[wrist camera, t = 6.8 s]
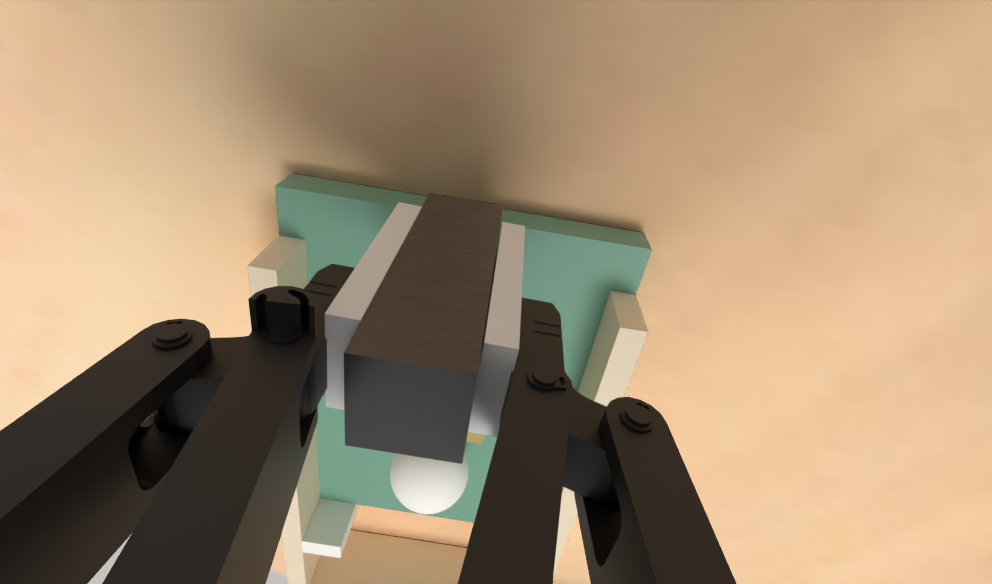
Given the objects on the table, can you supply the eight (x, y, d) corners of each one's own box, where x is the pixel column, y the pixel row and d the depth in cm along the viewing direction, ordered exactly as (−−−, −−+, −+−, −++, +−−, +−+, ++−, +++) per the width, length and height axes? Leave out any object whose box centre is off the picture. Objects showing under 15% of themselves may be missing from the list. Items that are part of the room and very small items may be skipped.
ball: (402, 409, 23) (382, 472, 20) (477, 421, 23) (468, 486, 20) (398, 460, 25) (379, 524, 22) (467, 470, 25) (458, 536, 22)
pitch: (292, 173, 19) (240, 211, 16) (644, 232, 19) (667, 283, 16) (316, 533, 32) (289, 599, 28) (530, 566, 32) (530, 635, 28)
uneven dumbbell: (410, 188, 17) (307, 347, 9) (523, 207, 17) (513, 380, 9) (399, 365, 21) (321, 576, 14) (489, 380, 21) (464, 598, 14)
